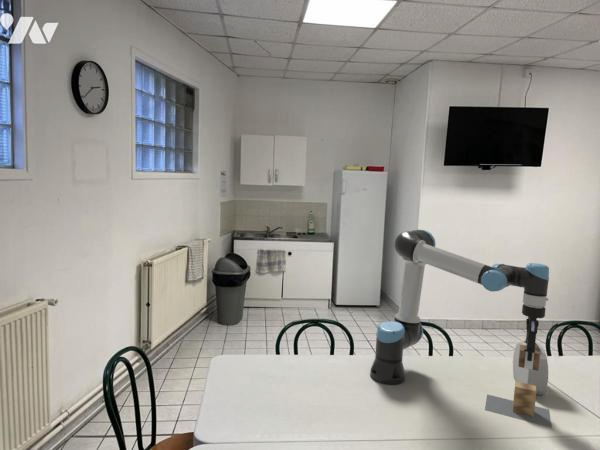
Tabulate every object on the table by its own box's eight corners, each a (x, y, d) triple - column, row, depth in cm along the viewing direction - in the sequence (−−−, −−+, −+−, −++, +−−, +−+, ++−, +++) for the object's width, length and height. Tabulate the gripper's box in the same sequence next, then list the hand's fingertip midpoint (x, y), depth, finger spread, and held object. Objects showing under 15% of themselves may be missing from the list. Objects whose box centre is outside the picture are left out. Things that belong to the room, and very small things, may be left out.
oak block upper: (513, 399, 160) (515, 386, 160) (514, 393, 165) (515, 381, 164) (535, 404, 157) (536, 391, 157) (534, 398, 162) (535, 385, 161)
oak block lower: (512, 411, 161) (513, 399, 160) (512, 405, 165) (514, 393, 165) (533, 417, 158) (535, 404, 157) (533, 410, 162) (534, 398, 162)
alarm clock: (546, 400, 172) (551, 353, 170) (526, 397, 173) (531, 351, 171) (528, 377, 192) (533, 334, 190) (511, 374, 194) (515, 333, 192)
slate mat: (484, 410, 161) (484, 409, 161) (487, 395, 174) (487, 394, 173) (551, 428, 151) (551, 427, 151) (548, 410, 164) (549, 409, 164)
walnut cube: (518, 366, 158) (520, 350, 157) (518, 360, 164) (520, 344, 163) (538, 370, 155) (540, 353, 154) (537, 364, 161) (539, 348, 160)
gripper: (547, 313, 147) (540, 377, 149) (544, 300, 164) (538, 358, 166) (522, 310, 150) (516, 372, 152) (522, 297, 167) (517, 353, 170)
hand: (528, 364), depth 159 cm, fingers closed on walnut cube, 6 cm apart
